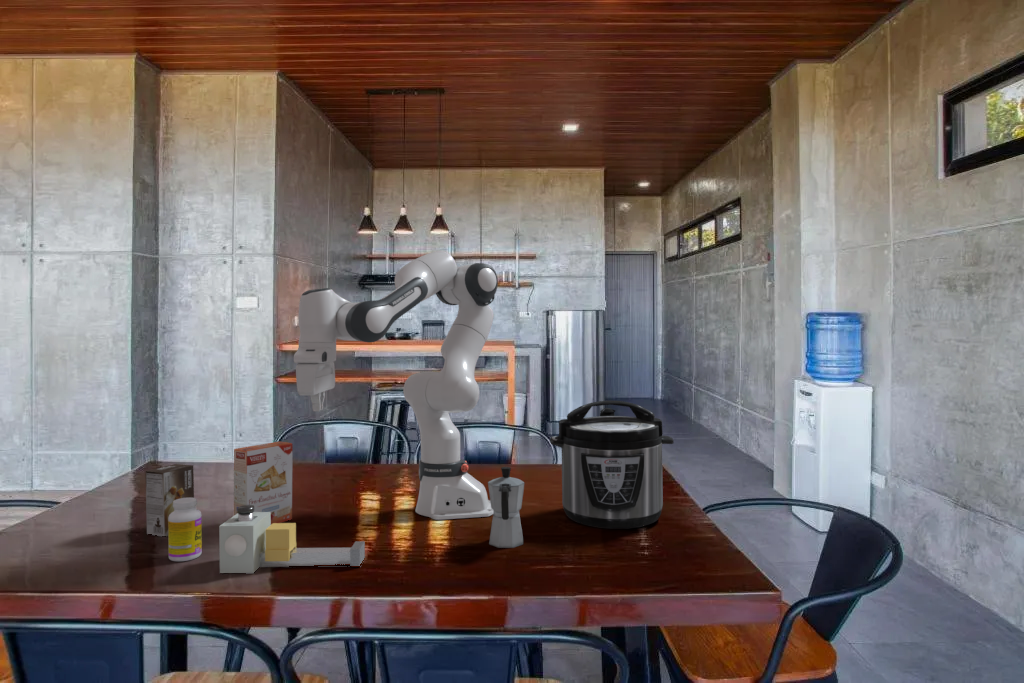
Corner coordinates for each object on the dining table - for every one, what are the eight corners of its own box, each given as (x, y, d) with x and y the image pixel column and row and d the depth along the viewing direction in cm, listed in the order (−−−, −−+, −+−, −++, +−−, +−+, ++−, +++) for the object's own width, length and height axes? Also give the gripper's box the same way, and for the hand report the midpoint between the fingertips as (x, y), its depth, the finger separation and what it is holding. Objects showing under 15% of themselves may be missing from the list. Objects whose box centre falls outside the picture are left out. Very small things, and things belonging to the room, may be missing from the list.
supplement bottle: (198, 560, 138) (198, 502, 137) (165, 564, 136) (164, 505, 136) (204, 550, 144) (204, 495, 144) (172, 553, 142) (171, 497, 142)
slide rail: (364, 559, 138) (364, 541, 138) (359, 567, 133) (359, 549, 133) (264, 560, 138) (264, 542, 138) (255, 568, 133) (255, 550, 133)
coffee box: (176, 524, 164) (176, 463, 164) (195, 526, 162) (194, 464, 161) (145, 534, 155) (144, 470, 155) (164, 537, 153) (164, 472, 153)
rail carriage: (296, 552, 138) (296, 522, 138) (288, 561, 133) (288, 529, 133) (273, 552, 138) (273, 522, 138) (265, 561, 133) (264, 530, 133)
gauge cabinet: (270, 556, 140) (270, 511, 140) (252, 574, 130) (252, 526, 130) (239, 556, 140) (239, 512, 140) (218, 574, 130) (218, 526, 129)
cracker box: (247, 534, 156) (246, 450, 155) (232, 530, 159) (232, 448, 158) (294, 519, 167) (293, 442, 167) (279, 516, 171) (278, 440, 170)
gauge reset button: (257, 536, 137) (256, 504, 137) (250, 541, 134) (250, 509, 133) (241, 536, 137) (241, 505, 137) (234, 542, 133) (234, 509, 133)
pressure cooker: (535, 520, 167) (535, 402, 167) (587, 497, 190) (587, 393, 189) (639, 542, 149) (639, 410, 149) (682, 514, 172) (683, 399, 172)
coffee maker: (489, 533, 156) (489, 461, 156) (524, 533, 156) (524, 461, 156) (485, 554, 141) (485, 475, 141) (524, 554, 141) (523, 475, 141)
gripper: (316, 352, 163) (317, 405, 163) (290, 355, 143) (291, 416, 143) (341, 352, 163) (341, 405, 163) (318, 355, 143) (319, 416, 143)
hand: (317, 410), depth 153 cm, fingers closed
